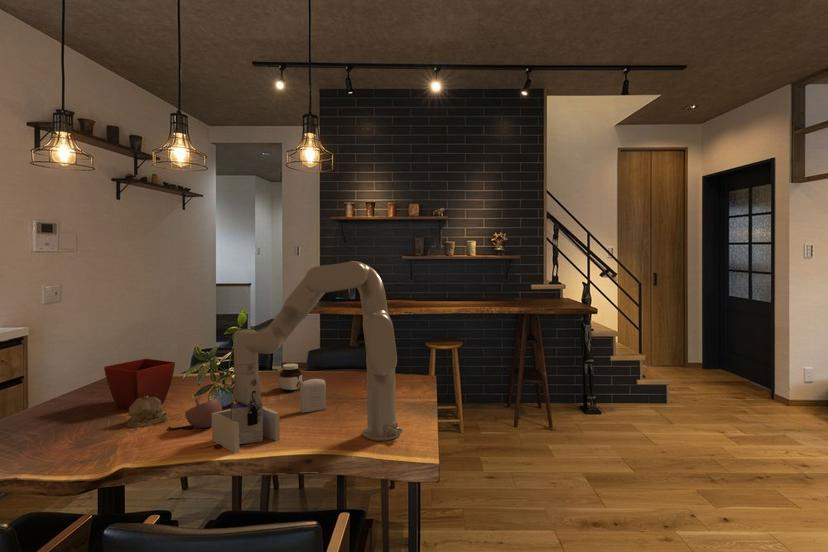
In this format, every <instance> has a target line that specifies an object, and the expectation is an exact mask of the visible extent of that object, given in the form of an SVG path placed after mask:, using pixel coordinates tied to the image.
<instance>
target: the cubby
mask: <svg viewBox="0 0 828 552" xmlns="http://www.w3.org/2000/svg"><path fill="white" fill-rule="evenodd" d="M280 431H281V430H280V412H278V411H275V410H273V409H270V408H269V407H265V406H263V437H266V438H268V439H270V438H271V439H270V440H272V439H273V440H272V441H274V440H275V442H277V440H278V441H280V440H281V438H280V437H281V436H280V434H281V433H280ZM212 440H213V441H212ZM211 441H212V442H214V441H215V443H216V444H218V445H219V444H220V445H219V446H221V445H222V446H221V447H223V448H225V449H226V448H227V450H228V451H230V452H232V453H233V454H237V453H240V444H239V423H238V422H235V421H233V420H231V408H228V409H225V410H222V411H220V412H215V413H212V426H211Z"/></svg>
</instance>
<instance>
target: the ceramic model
mask: <svg viewBox="0 0 828 552" xmlns="http://www.w3.org/2000/svg"><path fill="white" fill-rule="evenodd" d="M163 410H165V409H164V407H163V403H162V402H161V400H159V399H157V398H156V397H149V398H148V395H147V396H144V398H139V399H136V400H135V402H134V403H133V404H132V405H131V406H130V407H129V409H128V415H129V417H130V418H129V419H128V420H127V421H126V422H125V423H126V426H127V427H128V428H131V427H139V428H144V427H143V426H147V427H151V426H150V425H153V426H157V425H156V424H159V425H162V424H161V423H163V424H165V422H166V423H168V420H169V413H168V412H164V411H163ZM163 412H164V413H163Z"/></svg>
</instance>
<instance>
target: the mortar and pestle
mask: <svg viewBox="0 0 828 552" xmlns="http://www.w3.org/2000/svg"><path fill="white" fill-rule="evenodd" d="M201 398H202V394H199V395H198V396H197V397H196V398H195V399H194V401H195V404H196V405H195V406H193V407H191V408H189V409H188V410H186V411H185V412H184V413H185V414H184V415H185V418H186V420H187V422H188V423H189V425H191V426H193V427H194V428H197V429H206V428H210V427H212V413H215V412H220V411H223V405H222V402H221V400H220V399H219V398H218V397H215V398H212V399H209V400H207V401H205V402H202V403H201V402H200V400H201Z"/></svg>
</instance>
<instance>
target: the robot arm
mask: <svg viewBox="0 0 828 552" xmlns="http://www.w3.org/2000/svg"><path fill="white" fill-rule="evenodd" d="M350 289H357V290H358V292H359V298H360V303H361V309H362V329H363V330H362V331H363V336H364V337H363V338H364V345H365V352H366V354H365V355H366V358H365V359H366V360H365V361H366V385H367V387H366V399H367V400H366V403H367V404H366V405H367V408H366V410H367V413H366V414H367V415H366V416H367V420H366V421H367V424H366V425H367V428H365V429H363V431H362V436H363V438H365V439H367V440H370V441H377V442H378V441H380V442H384V441H391V440H394V439H396V438H398V437H400V436H401V433H403V429H402V428H401V427H398V424H399V423H398V422H397V420H396V367H397V363H398V353H397V344H396V337H395V330H394V325H393V324H394V323H393V321H392V319H391V317H390V315H389V309H388V302H387V297H386V296H387V294H386V291H385V286H384V282H383V280H382V279H381V277H380V275H379V273H378V272H377V271H376V270H375V269H374V268H372V267H371V266H370V265H368V264H365V263H363V262H360V261H356V260H351V261H347V262H341V263H333V264H329V265H328V264H327V265H317V266H313V267H311V268H309V269H308V270H307V272H306V273H305V276H304V277H303V278H302V280H301V281H300V282H299V283H298V284H297V286H296V287H295V289H294V290H293V291H292V292H291V293H290V295H288V297H287V298H286V299H285V301H284V303H283V306H282V308H281V309H280V311H279V313H278V314H276V316H275V317H274V319H273V321H271V322H270V324H269V325H268V326H267V328H266V329H264V330H262V331H256V330H254V329H239V330H237V331H235V332H234V334H233V373H234V380H233V382H234V383H233V398H234V402H235V403H234V404H239V403H240V402H241V403H243V404H245V405H247V407H248V412H249V413H248V414H247V415H248V426H251V425H255V424H257V423H258V409H259V406H260V404H261V403H260V402H262V394H261V393H262V392H261V391H262V389H261V379H260V373H259V354H263V355H264V354H265V355H269V354H274V353H275V352H277V351H278V350H279V349H280V347H281V346H283V344H284V343H285V342H286V340H287V339H288V338H289V336H291V334H292V333H293V331H295V328H297V327H298V325H299V324H300V323H301V322H302V321H303V320H305V319H306V317H307V316H308V315H309V314H310V312H311V311H312V310H313V309H314V307H315V306H316V305H317V304H318V302H319V301H320V300H321V298H322V297H324V295H325V294H326V293H330V292H331V293H332V292H337V291H345V290H350ZM252 401H253V402H254V403H250V402H252ZM252 405H254V406H253V407H252V409H251V406H252Z"/></svg>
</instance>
